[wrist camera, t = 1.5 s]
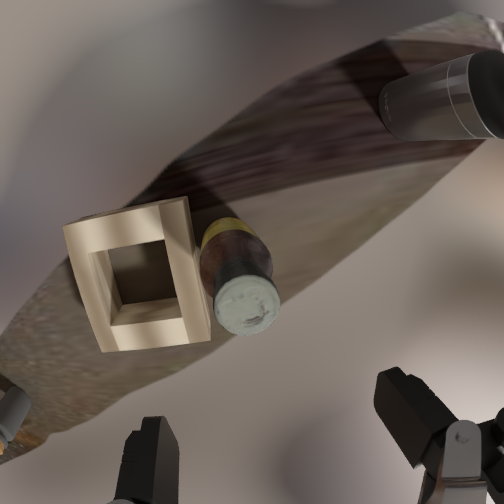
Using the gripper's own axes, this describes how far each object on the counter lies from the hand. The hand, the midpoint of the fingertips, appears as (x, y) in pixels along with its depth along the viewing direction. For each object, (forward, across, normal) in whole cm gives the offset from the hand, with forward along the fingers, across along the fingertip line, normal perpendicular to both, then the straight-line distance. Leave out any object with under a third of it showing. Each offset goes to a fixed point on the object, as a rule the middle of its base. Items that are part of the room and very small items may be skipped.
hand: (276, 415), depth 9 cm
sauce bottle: (+28, 0, 0) cm, 28 cm away
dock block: (+28, +11, +2) cm, 30 cm away
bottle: (+28, +47, +24) cm, 60 cm away
